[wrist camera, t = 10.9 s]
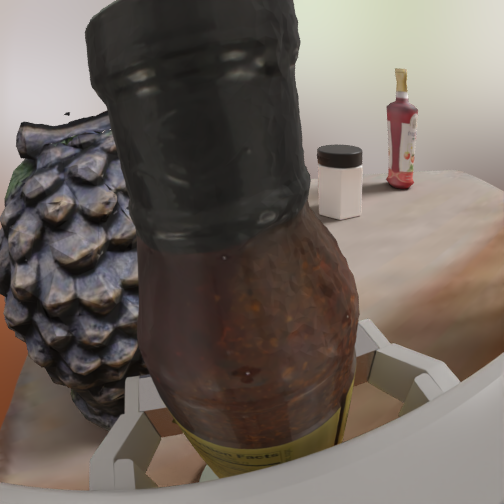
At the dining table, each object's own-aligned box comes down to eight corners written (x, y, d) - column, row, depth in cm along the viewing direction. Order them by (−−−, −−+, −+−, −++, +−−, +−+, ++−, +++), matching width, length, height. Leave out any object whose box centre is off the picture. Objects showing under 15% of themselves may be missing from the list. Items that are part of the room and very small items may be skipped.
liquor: (406, 193, 65) (408, 68, 51) (379, 185, 70) (379, 67, 56) (419, 186, 68) (421, 71, 54) (394, 179, 73) (394, 69, 60)
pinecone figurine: (145, 296, 41) (96, 105, 28) (253, 313, 36) (225, 77, 24) (49, 416, 24) (-81, 174, 11) (175, 479, 19) (-8, 119, 7)
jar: (319, 201, 63) (317, 143, 57) (358, 202, 61) (359, 144, 56) (317, 219, 56) (315, 154, 50) (362, 221, 54) (364, 155, 48)
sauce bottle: (271, 408, 19) (218, 37, 9) (355, 454, 15) (403, 7, 5) (198, 476, 15) (20, 66, 5) (283, 539, 11) (144, -107, 1)
